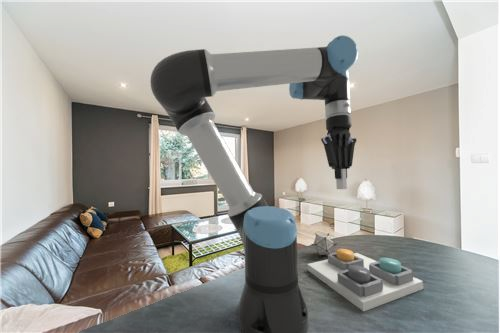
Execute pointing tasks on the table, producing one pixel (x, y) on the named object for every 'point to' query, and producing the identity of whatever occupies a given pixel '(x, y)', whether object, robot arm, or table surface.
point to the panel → (369, 294)
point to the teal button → (390, 265)
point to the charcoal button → (359, 274)
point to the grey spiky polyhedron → (323, 244)
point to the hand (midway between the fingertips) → (341, 189)
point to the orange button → (345, 255)
